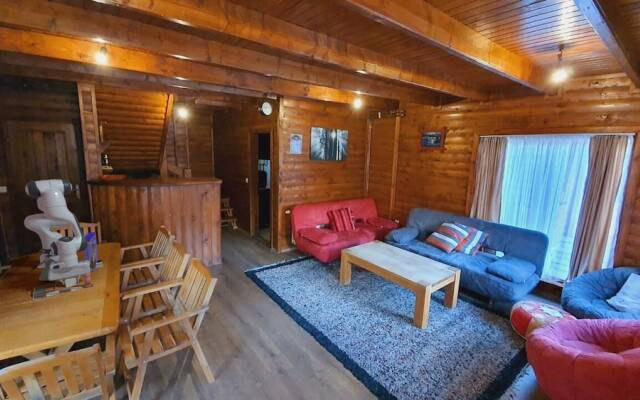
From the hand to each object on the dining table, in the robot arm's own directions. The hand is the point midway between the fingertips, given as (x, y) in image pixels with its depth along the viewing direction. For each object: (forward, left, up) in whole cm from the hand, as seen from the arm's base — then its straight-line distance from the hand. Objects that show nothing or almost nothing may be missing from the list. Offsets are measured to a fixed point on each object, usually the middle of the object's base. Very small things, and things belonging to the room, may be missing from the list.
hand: (71, 282), depth 183 cm
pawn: (+8, +8, -1) cm, 11 cm away
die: (0, 0, -2) cm, 2 cm away
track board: (+8, -3, -2) cm, 9 cm away
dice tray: (0, -12, -2) cm, 12 cm away
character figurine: (-14, -11, -2) cm, 18 cm away
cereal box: (-26, +12, -2) cm, 29 cm away
